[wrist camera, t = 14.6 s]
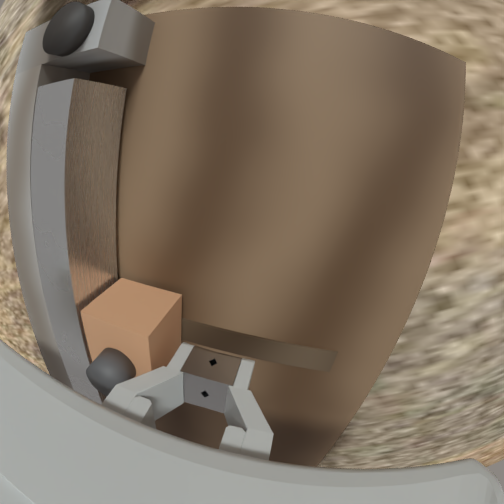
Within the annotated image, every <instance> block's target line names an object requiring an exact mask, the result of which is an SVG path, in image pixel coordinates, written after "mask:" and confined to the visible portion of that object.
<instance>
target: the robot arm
mask: <svg viewBox="0 0 504 504" xmlns="http://www.w3.org/2000/svg"><path fill="white" fill-rule="evenodd" d="M254 365H255V361H254V360H249V359H244V358H243V359H242V358H239V357H235V356H231V355H227V354H223V353H218V352H215V351H211V350H208V349H205V348H201V347H198V346H194V345H191V344H188V343H185V342H183V343H182V344H181V345H180V346H179V348H178V350H177V351H176V353H175V354H174V356H173V357H172V359H171V361H170V362H169V364H168V365H167V367H165V366H162V367H159V368H157V369H155V370H152V371H150V372H147V373H145V374H142V375H140V376H137V377H135V378H132V379H130V380H127V381H125V382H122V383H119V384H117V385H115V387H114V388H113V389H112V391H111V392H110V393H109V395H108V396H107V397H106V399H105V400H104V401H103V403H102V404H99V403H97V402H95V401H93V400H91V399H89V398H87V397H86V396H84V395H82V394H80V393H78V392H77V391H75V390H73V389H71V388H70V387H68V386H66V385H65V384H63V383H61V382H60V381H58V380H56V379H55V378H53V377H52V376H50V375H49V374H47V373H45V372H44V371H42V370H41V369H39V368H38V367H37V366H35V365H34V364H32V363H31V362H29V361H28V360H27V359H25V358H24V357H22V356H21V355H20V354H18V353H17V352H16V351H14V350H13V349H12V348H11V347H9V346H8V345H7V344H6V343H4V342H3V341H2V340H1V339H0V504H504V493H503V490H502V487H501V485H500V482H499V480H498V479H497V477H496V476H495V475H494V474H493V473H492V472H490V470H488V469H487V468H486V467H485V466H484V465H482V464H481V463H480V462H478V461H477V460H475V459H472V458H469V459H463V460H458V461H453V462H447V463H441V464H433V465H425V466H416V467H404V468H386V469H346V468H327V467H315V466H305V465H297V464H289V463H282V462H276V461H270V460H269V456H270V451H271V446H272V440H273V435H274V434H273V432H272V430H271V428H270V426H269V424H268V423H267V421H266V419H265V417H264V415H263V413H262V411H261V409H260V407H259V405H258V403H257V402H256V400H255V398H254V396H253V394H252V392H251V391H250V390H249V387H250V382H251V378H252V373H253V369H254ZM184 402H186V403H190V404H193V405H197V406H201V407H204V408H207V409H211V410H214V411H217V412H221V413H224V415H225V418H226V421H227V424H228V427H226V429H225V432H224V435H223V438H222V441H221V443H220V446H219V449H215V448H212V447H208V446H205V445H201V444H198V443H195V442H191V441H188V440H185V439H182V438H179V437H176V436H173V435H171V434H168V433H165V432H162V431H160V430H157V429H156V425H155V420H157V419H159V418H160V417H162V416H164V415H165V414H167V413H168V412H170V411H172V410H173V409H175V408H176V407H178V406H180V405H181V404H183V403H184Z"/></svg>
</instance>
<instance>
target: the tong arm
mask: <svg viewBox="0 0 504 504" xmlns="http://www.w3.org/2000/svg"><path fill="white" fill-rule="evenodd" d="M126 90H127V88H123V87H118V86H114V85H109V84H104V83H99V82H94V81H88V80H83V79H77V78H73V79H68V80H63V81H59V82H55V83H51V84H47V85H43V86H39V87H38V91H37V98H36V105H35V113H34V122H33V133H32V149H31V200H32V216H33V228H34V237H35V246H36V253H37V260H38V266H39V272H40V277H41V283H42V288H43V292H44V297H45V301H46V306H47V310H48V314H49V318H50V321H51V325H52V329H53V332H54V336H55V339H56V342H57V345H58V348H59V352H60V355H61V357H62V360H63V363H64V366H65V369H66V372H67V374H68V377H69V379H70V382H71V385H72V387H73V389H74V390H75V391H77V392H78V393H80V394H82V395H84V396H86V397H87V398H89V399H91V400H93V401H95V402H97V403H99V404H102V403H103V401H104V400H105V399H106V397H107V396H105V395H104V394H102V393H101V392H99V391H98V390H97V389H96V388H95V387H94V386H93V385H92V384H91V382H90V381H89V379H88V377H87V375H86V369H87V368H88V366H89V365H90V364H91V363H92V358H91V355H90V351H89V347H88V343H87V339H86V335H85V331H84V326H83V322H82V317H81V312H80V311H81V310H82V309H84V308H85V307H86V306H87V305H88V304H90V303H91V302H92V301H93V300H94V299H96V298H97V297H98V296H99V295H100V294H102V293H103V292H104V291H105V290H107V289H108V288H109V287H110V286H112V285H113V284H114V283H115V282H117V281H118V274H117V254H116V188H117V169H118V155H119V144H120V134H121V125H122V117H123V109H124V103H125V96H126Z"/></svg>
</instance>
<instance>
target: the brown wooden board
mask: <svg viewBox="0 0 504 504" xmlns="http://www.w3.org/2000/svg"><path fill="white" fill-rule="evenodd" d="M73 78H77V79H83V80H88V81H94V82H99V83H104V84H109V85H114V86H118V87H123V88H127V90H126V96H125V103H124V109H123V117H122V125H121V134H120V144H119V155H118V169H117V188H116V254H117V274H118V280H119V279H120V278H124V279H128V280H131V281H135V282H138V283H142V284H145V285H149V286H152V287H156V288H159V289H163V290H167V291H171V292H174V293H178V294H182V314H181V344H182V343H183V342H185V343H188V344H191V345H194V346H198V347H201V348H205V349H208V350H211V351H215V352H218V353H223V354H227V355H231V356H235V357H239V358H242V359H243V358H244V359H249V360H254V361H255V365H254V369H253V373H252V378H251V382H250V387H249V390H250V391H251V392H252V394H253V396H254V398H255V400H256V402H257V403H258V405H259V407H260V409H261V411H262V413H263V415H264V417H265V419H266V421H267V423H268V424H269V426H270V428H271V430H272V432H273V434H274V435H273V440H272V446H271V451H270V456H269V460H270V461H276V462H282V463H289V464H297V465H305V466H315V467H317V466H318V464H319V463H320V462H321V461H322V459H323V458H324V457H325V456H326V454H327V453H328V452H329V450H330V449H331V448H332V446H333V445H334V444H335V442H336V441H337V440H338V438H339V437H340V436H341V434H342V433H343V431H344V430H345V429H346V427H347V426H348V424H349V423H350V421H351V420H352V418H353V417H354V415H355V414H356V412H357V411H358V409H359V408H360V406H361V405H362V403H363V401H364V400H365V398H366V397H367V395H368V393H369V392H370V390H371V388H372V387H373V385H374V383H375V382H376V380H377V378H378V376H379V375H380V373H381V371H382V369H383V367H384V366H385V364H386V362H387V360H388V358H389V356H390V354H391V352H392V351H393V349H394V347H395V345H396V343H397V341H398V339H399V337H400V335H401V332H402V330H403V328H404V326H405V324H406V322H407V320H408V317H409V315H410V313H411V311H412V308H413V306H414V304H415V301H416V299H417V296H418V294H419V291H420V289H421V286H422V284H423V281H424V279H425V276H426V273H427V271H428V268H429V265H430V262H431V259H432V256H433V253H434V250H435V247H436V244H437V241H438V238H439V234H440V231H441V228H442V224H443V221H444V217H445V213H446V210H447V206H448V202H449V197H450V193H451V189H452V184H453V180H454V175H455V169H456V164H457V158H458V152H459V146H460V139H461V131H462V123H463V113H464V100H465V78H466V62H464V61H462V60H460V59H458V58H456V57H454V56H452V55H450V54H448V53H445V52H443V51H441V50H439V49H437V48H434V47H432V46H430V45H427V44H425V43H422V42H420V41H417V40H414V39H412V38H409V37H406V36H403V35H401V34H398V33H395V32H392V31H389V30H385V29H382V28H379V27H375V26H372V25H368V24H364V23H360V22H356V21H352V20H348V19H343V18H339V17H334V16H328V15H323V14H317V13H310V12H303V11H295V10H286V9H275V8H259V7H210V8H195V9H183V10H174V11H167V12H160V13H153V14H147V15H143V14H141V13H140V12H138V11H137V10H135V9H133V8H132V7H130V6H129V5H127V4H125V3H124V2H122V1H120V0H99V1H96V2H93V3H90V4H88V5H84V4H82V3H80V2H71V3H68V4H66V5H65V6H63V7H62V8H61V9H60V10H59V11H58V12H57V13H56V14H55V15H54V16H53V18H52V19H51V20H49V21H47V22H45V23H43V24H41V25H39V26H37V27H35V28H33V29H31V30H30V31H28V32H26V34H25V38H24V41H23V45H22V49H21V53H20V57H19V61H18V65H17V70H16V75H15V80H14V86H13V92H12V99H11V106H10V115H9V125H8V139H7V195H8V209H9V220H10V229H11V237H12V244H13V250H14V256H15V261H16V267H17V272H18V276H19V281H20V285H21V289H22V293H23V297H24V301H25V305H26V308H27V312H28V315H29V319H30V322H31V325H32V328H33V331H34V334H35V337H36V340H37V343H38V346H39V348H40V351H41V354H42V356H43V359H44V361H45V364H46V366H47V369H48V371H49V374H50V376H52V377H53V378H55V379H56V380H58V381H60V382H61V383H63V384H65V385H66V386H68V387H70V388H71V389H73V387H72V385H71V382H70V379H69V377H68V374H67V372H66V369H65V366H64V363H63V360H62V357H61V355H60V352H59V348H58V345H57V342H56V339H55V336H54V332H53V329H52V325H51V321H50V318H49V314H48V310H47V306H46V301H45V297H44V292H43V288H42V283H41V277H40V272H39V266H38V260H37V253H36V246H35V237H34V228H33V216H32V200H31V149H32V133H33V122H34V113H35V105H36V98H37V91H38V87H39V86H43V85H47V84H51V83H55V82H59V81H63V80H68V79H73ZM73 390H74V389H73ZM155 425H156V429H157V430H160V431H162V432H165V433H168V434H171V435H173V436H176V437H179V438H182V439H185V440H188V441H191V442H195V443H198V444H201V445H205V446H208V447H212V448H215V449H219V446H220V443H221V441H222V438H223V435H224V432H225V429H226V427H228V424H227V421H226V418H225V415H224V413H221V412H217V411H214V410H211V409H207V408H204V407H201V406H197V405H193V404H190V403H186V402H184V403H183V404H181V405H180V406H178V407H176V408H175V409H173V410H172V411H170V412H168V413H167V414H165V415H164V416H162V417H160V418H159V419H157V420H155Z"/></svg>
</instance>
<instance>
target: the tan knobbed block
mask: <svg viewBox="0 0 504 504" xmlns="http://www.w3.org/2000/svg"><path fill="white" fill-rule="evenodd" d="M80 312H81V317H82V322H83V326H84V331H85V335H86V339H87V343H88V347H89V351H90V355H91V358H92V363H91V364H90V365H89V366H88V368H87V369H86V375H87V377H88V379H89V381H90V382H91V384H92V385H93V386H94V387H95V388H96V389H97V390H98V391H99V392H101V393H102V394H104V395H105V396H108V395H109V393H110V392H111V391H112V389H113V388H114V387H115V385H117V384H119V383H122V382H125V381H127V380H130V379H132V378H135V377H137V376H140V375H142V374H145V373H147V372H150V371H152V370H155V369H157V368H159V367H162V366H165V367H167V365H168V364H169V362H170V361H171V359H172V357H173V356H174V354H175V353H176V351H177V350H178V348H179V346H180V345H181V314H182V294H178V293H174V292H171V291H167V290H163V289H159V288H156V287H152V286H149V285H145V284H142V283H138V282H135V281H131V280H128V279H124V278H120V279H119V280H118V281H117V282H115V283H114V284H113V285H112V286H110V287H109V288H108V289H107V290H105V291H104V292H103V293H102V294H100V295H99V296H98V297H97V298H96V299H94V300H93V301H92V302H91V303H90V304H88V305H87V306H86V307H85V308H84V309H82V310H81V311H80Z"/></svg>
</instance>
